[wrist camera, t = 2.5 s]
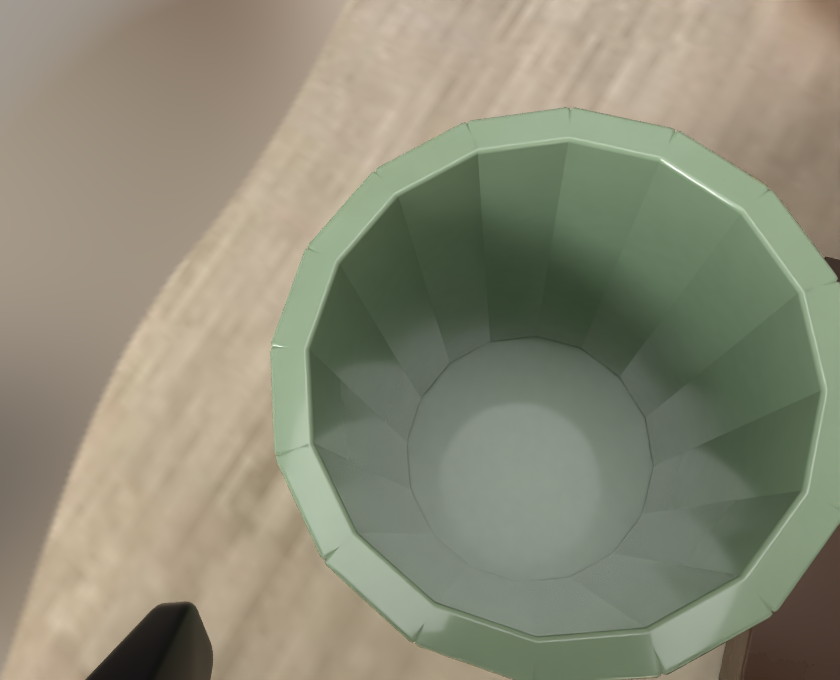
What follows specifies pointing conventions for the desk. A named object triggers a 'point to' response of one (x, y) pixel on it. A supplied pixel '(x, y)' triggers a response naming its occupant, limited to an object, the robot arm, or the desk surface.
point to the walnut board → (796, 623)
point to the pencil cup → (563, 396)
